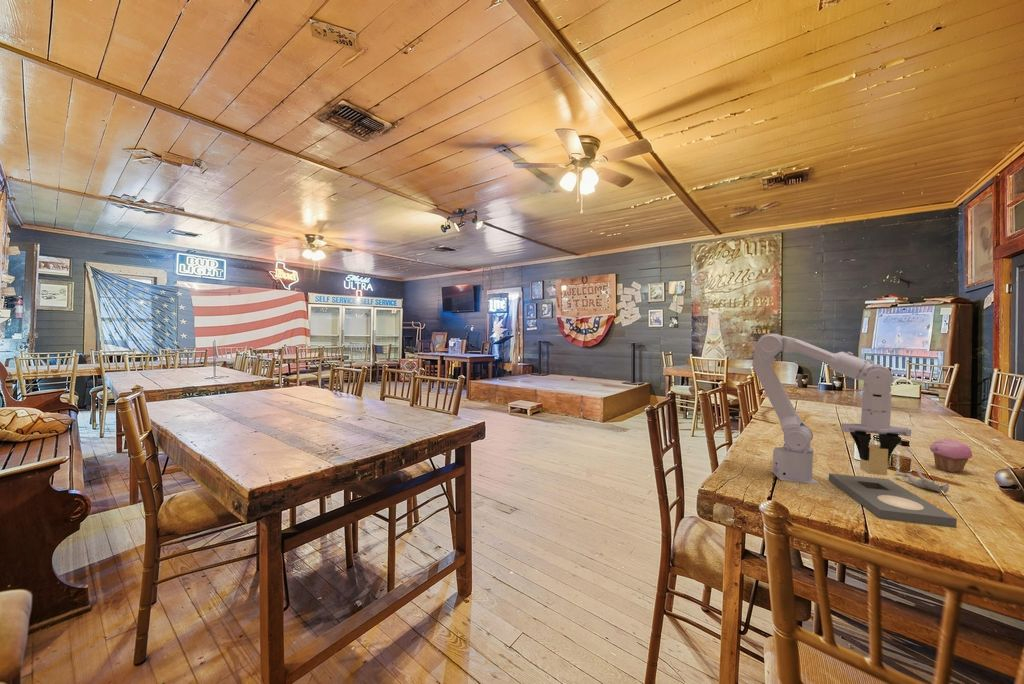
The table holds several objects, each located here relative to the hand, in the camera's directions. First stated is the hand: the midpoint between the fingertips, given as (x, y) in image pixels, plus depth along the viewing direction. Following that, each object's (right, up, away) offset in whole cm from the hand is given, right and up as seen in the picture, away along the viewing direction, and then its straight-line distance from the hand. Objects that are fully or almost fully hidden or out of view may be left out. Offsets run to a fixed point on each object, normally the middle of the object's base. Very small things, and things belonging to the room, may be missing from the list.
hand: (873, 460), depth 105 cm
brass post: (0, -3, 0) cm, 3 cm away
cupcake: (+42, -9, +19) cm, 47 cm away
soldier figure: (+18, -10, +5) cm, 21 cm away
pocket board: (-1, -10, -4) cm, 11 cm away
